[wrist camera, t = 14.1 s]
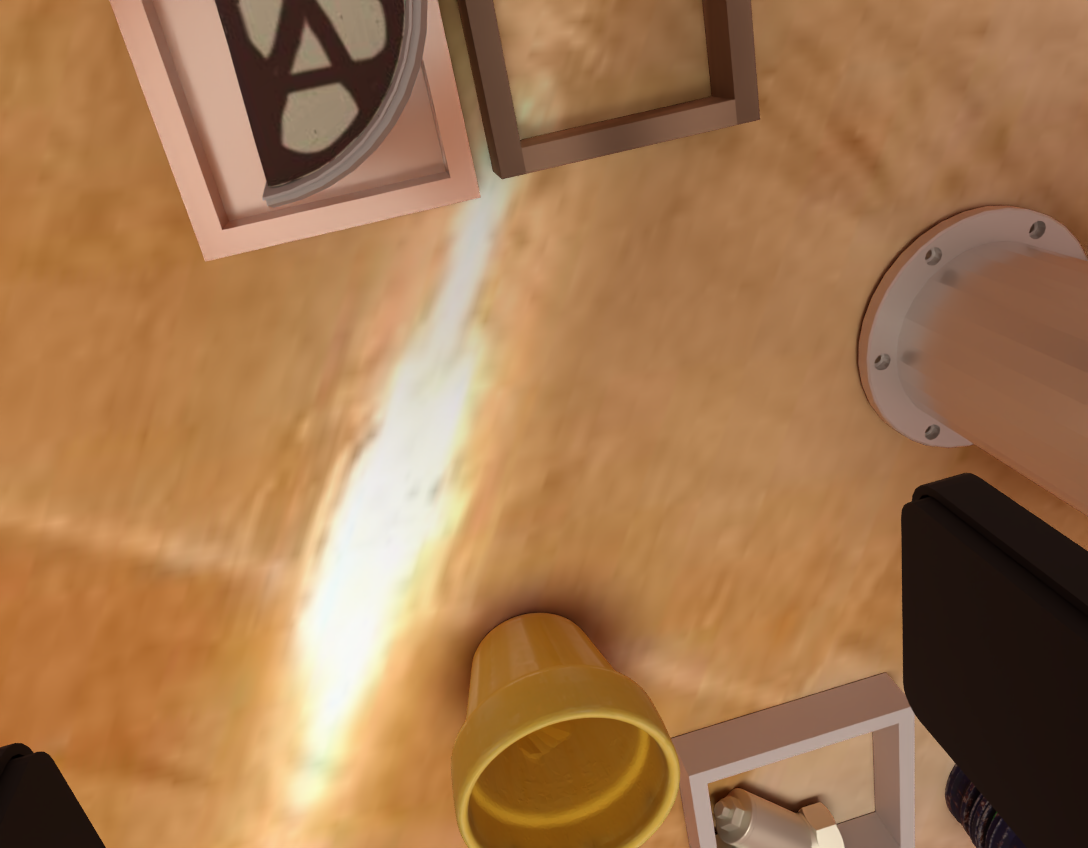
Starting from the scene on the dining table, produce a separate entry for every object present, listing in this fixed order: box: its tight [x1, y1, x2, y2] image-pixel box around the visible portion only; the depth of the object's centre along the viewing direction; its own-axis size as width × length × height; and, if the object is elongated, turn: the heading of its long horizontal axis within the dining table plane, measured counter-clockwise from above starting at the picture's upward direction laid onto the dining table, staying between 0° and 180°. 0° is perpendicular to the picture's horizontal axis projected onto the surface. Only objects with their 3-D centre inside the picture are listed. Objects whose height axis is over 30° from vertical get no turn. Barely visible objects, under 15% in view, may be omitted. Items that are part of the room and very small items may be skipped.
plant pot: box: [451, 613, 680, 848], centre depth 43 cm, size 10×10×10 cm
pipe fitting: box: [714, 788, 845, 848], centre depth 54 cm, size 8×4×7 cm
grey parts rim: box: [671, 673, 915, 848], centre depth 54 cm, size 14×13×3 cm
